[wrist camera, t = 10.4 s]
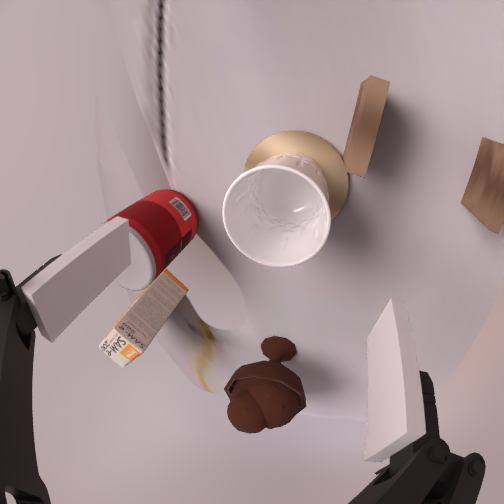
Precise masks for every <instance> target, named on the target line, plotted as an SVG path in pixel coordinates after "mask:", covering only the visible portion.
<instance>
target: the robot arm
mask: <svg viewBox="0 0 504 504" xmlns="http://www.w3.org/2000/svg"><path fill="white" fill-rule="evenodd" d="M130 265H131V254H130V240H129V221H128V219H125V218H122V217H118V216H117V217H115V218H114V219H112V220H111V221H109V222H108V223H106V224H105V225H103V226H102V227H100V228H99V229H97V230H96V231H94V232H93V233H92V234H90V235H89V236H87V237H86V238H85V239H83V240H82V241H80V242H79V243H77V244H76V245H75V246H73V247H72V248H71V249H69V250H68V251H67V252H65V253H64V254H61V255H59V256H56V257H54V258H52V259H50V260H49V261H48V262H46V263H45V264H44V266H41V267H40V268H39V269H38V270H36V271H35V272H34V273H32V274H31V275H30V276H29V277H28V278H26V279H25V280H24V281H23V282H21V283H20V284H19V285H18V286H16V287H15V285H14V282H13V279H12V276H11V274H10V272H9V271H8V270H3V269H2V270H0V504H7V501H6V497H5V491H6V492H8V493H10V494H12V495H13V497H14V498H15V500H16V503H17V504H51V502H50V498H49V494H48V491H47V488H46V486H45V484H44V483H43V481H42V480H41V478H40V476H39V473H38V467H37V461H36V452H35V443H34V432H33V416H32V415H33V414H32V376H33V357H34V346H35V331H34V329H35V328H36V327H37V326H38V328H39V330H40V333H41V335H42V336H44V337H45V338H46V339H47V340H49V341H50V342H54V340H55V339H56V338H57V337H58V336H59V335H60V334H61V333H62V332H63V331H64V330H65V329H66V328H67V326H69V324H70V323H71V322H72V321H73V320H74V319H75V318H76V317H77V316H78V315H79V314H80V313H81V312H82V311H83V310H84V309H85V308H86V307H87V306H88V305H89V304H90V303H91V302H92V301H93V300H94V299H95V298H96V297H97V296H98V295H99V294H100V293H101V292H102V291H103V290H104V289H105V288H106V287H107V286H108V285H109V284H110V283H111V282H112V281H114V280H115V279H116V278H117V277H118V276H119V275H120V274H121V273H122V272H123V271H124V270H125V269H126V268H127V267H128V266H130ZM367 362H368V398H367V426H366V442H365V454H364V461H373V462H382V461H384V460H386V459H387V458H389V457H390V464H389V465H388V466H386V467H384V468H382V469H380V470H379V471H377V472H376V473H375V474H379V473H380V474H379V475H378V476H377V477H376V478H375V479H374V480H373V481H372V482H371V483H370V484H369V485H368V486H367V487H366V488H365V489H364V490H363V491H362V492H360V493H359V495H357V496H356V497H355V498H354V499H353V500H352V501H351V502H350V503H348V504H475V503H476V500H477V497H478V494H479V491H480V488H481V485H482V481H483V477H484V474H485V461H484V459H483V457H482V456H481V455H480V454H478V453H471V454H469V455H468V456H466V457H461V456H458V455H456V454H453V453H451V452H450V449H449V446H448V445H447V443H445V441H444V440H442V439H440V436H439V426H438V417H437V408H436V405H435V403H436V401H435V396H434V387H433V382H432V380H431V378H430V376H429V375H428V373H427V372H423V371H419V367H418V361H417V355H416V350H415V345H414V339H413V335H412V330H411V325H410V321H409V316H408V312H407V308H406V304H405V301H401V300H398V299H394V298H391V299H390V300H389V302H388V304H387V306H386V307H385V309H384V311H383V313H382V314H381V316H380V318H379V319H378V321H377V323H376V324H375V326H374V327H373V329H372V331H371V332H370V334H369V335H368V337H367Z"/></svg>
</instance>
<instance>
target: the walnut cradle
mask: <svg viewBox="0 0 504 504" xmlns="http://www.w3.org/2000/svg"><path fill="white" fill-rule="evenodd" d="M389 84H390V82H389V81H386V80H383V79H380V78H377V77H374V76H369V77H368V78H367V79H366V80H365V81H363V82H362V83H361V86H360V90H359V95H358V99H357V103H356V108H355V112H354V116H353V120H352V124H351V128H350V132H349V136H348V140H347V143H346V147H345V151H344V155H343V160H344V164H345V168H346V172H348V173H351V174H354V175H357V176H360V177H363V178H365V175H366V171H367V168H368V165H369V162H370V158H371V155H372V151H373V148H374V144H375V141H376V137H377V133H378V129H379V126H380V122H381V118H382V114H383V110H384V106H385V102H386V97H387V93H388V89H389ZM461 203H462V204H463V205H464V206H465V207H466V208H467V209H468V210H469V211H470V212H471V213H472V214H473V215H474V216H475V217H476V218H477V219H478V220H480V221H481V222H482V223H483V224H484V225H485V227H486V228H487V229H489V230H491V231H493V232H495V233H497V234H498V233H499V231H500V229H501V226H502V224H503V222H504V144H501V143H498V142H495V141H492V140H489V139H486V138H483V137H482V140H481V144H480V148H479V151H478V155H477V158H476V161H475V164H474V167H473V170H472V173H471V176H470V179H469V182H468V185H467V188H466V190H465V193H464V196H463V198H462V201H461Z"/></svg>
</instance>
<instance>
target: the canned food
mask: <svg viewBox="0 0 504 504" xmlns="http://www.w3.org/2000/svg"><path fill="white" fill-rule="evenodd" d="M117 216H118V217H122V218H125V219H128V221H129V240H130V254H131V265H130V266H128V267H127V268H126V269H125V270H124V271H123V272H122V273H121V274H120V275H119V276H118V277H117V278H116V279H115V280H114V282H115V283H116V284H118V285H119V286H121V287H123V288H126V289H128V290H133V291H139V290H143V289H145V288H147V287H148V286H149V285H150V284H151V283H152V282H153V281H154V280H155V279H156V278H157V277H158V276H159V275H160V274H161V273H162V272H163V270H164V269H165V268H166V267H167V266H168V265H169V264H170V263H171V261H173V259H174V258H175V257H176V256H177V255H178V254H179V253H180V252H181V251H182V250H183V249H184V248H185V247H186V245H188V243H189V242H190V241H191V240H192V239H193V238H194V236H195V234H196V231H197V227H198V217H197V213H196V210H195V208H194V206H193V205H192V203H191V202H190V201H189V200H188V199H187V198H186V197H185V196H184V195H182V194H181V193H179V192H177V191H174V190H158V191H155V192H153V193H151V194H149V195H148V196H146V197H144V198H142V199H141V200H139V201H137V202H136V203H134V204H132V205H131V206H129V207H127V208H126V209H124V210H123V211H121V212H119V213H118V214H116V215H114V216H113V217H111V218H110V219H108V220H107V221H106V222H104V223H102V224H101V225H100V226H99V227H98V228H97V229H99V228H100V227H102V226H103V225H105V224H106V223H108V222H109V221H111V220H112V219H114V218H115V217H117ZM97 229H96V230H97ZM96 230H95V231H96Z"/></svg>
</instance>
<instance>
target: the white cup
mask: <svg viewBox="0 0 504 504" xmlns="http://www.w3.org/2000/svg"><path fill="white" fill-rule="evenodd" d="M222 215H223V222H224V226H225V229H226V232H227V234H228V236H229V238H230V240H231V241H232V243H233V244H234V245H235V246H236V247H237V249H238V250H239V251H240V252H242V253H243V254H244V255H245V256H247V257H248V258H250V259H251V260H253V261H255V262H257V263H260V264H263V265H266V266H271V267H291V266H296V265H299V264H301V263H304V262H306V261H308V260H309V259H311V258H312V257H313V256H315V255H316V254H317V253H318V252H319V251H320V250H321V248H322V247H323V245H324V244H325V242H326V240H327V238H328V235H329V232H330V226H331V214H330V203H329V194H328V189H327V183H326V180H325V178H324V174H323V171H322V169H321V168H320V167H319V165H318V164H317V163H316V162H315V161H314V160H313V159H312V158H311V157H308V156H306V155H304V154H302V153H299V152H283V153H281V154H279V155H277V156H273V157H271V158H269V159H267V160H265V161H263V162H261V163H259V164H258V165H256V166H255V167H253V168H251V169H250V170H248V171H247V172H245V173H243V174H242V175H240V176H239V177H238V178H237V179H236V180H235V181H234V182H233V183H232V185H231V186H230V188H229V189H228V191H227V193H226V196H225V198H224V202H223V210H222Z"/></svg>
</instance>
